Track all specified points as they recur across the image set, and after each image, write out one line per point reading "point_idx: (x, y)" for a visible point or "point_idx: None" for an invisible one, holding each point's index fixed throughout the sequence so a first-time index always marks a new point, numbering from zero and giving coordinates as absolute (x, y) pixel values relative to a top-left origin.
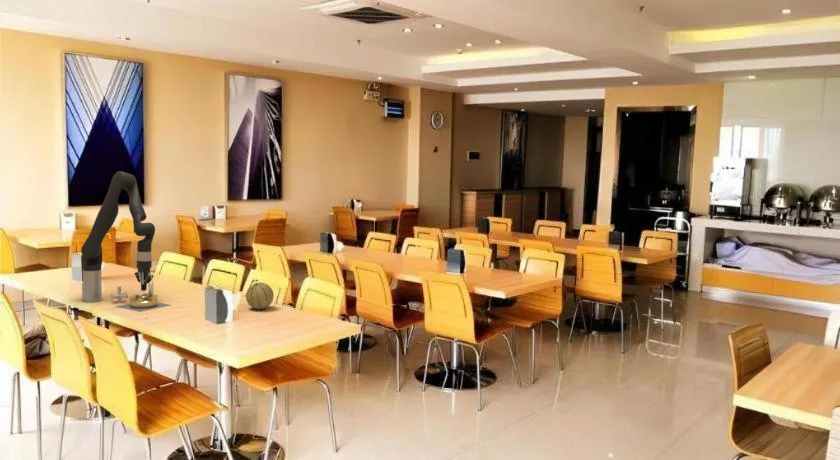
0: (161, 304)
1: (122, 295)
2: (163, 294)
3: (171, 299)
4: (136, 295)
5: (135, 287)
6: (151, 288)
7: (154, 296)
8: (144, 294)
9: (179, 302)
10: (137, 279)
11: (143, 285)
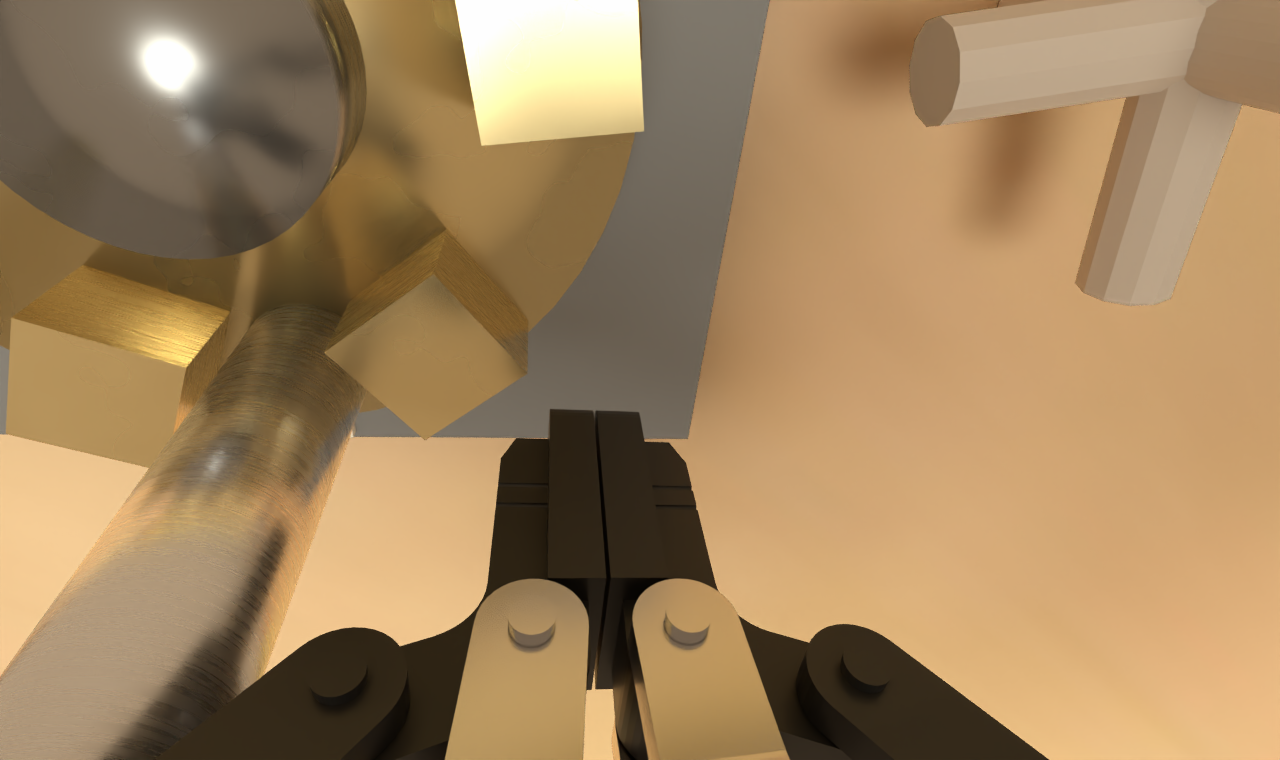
0: None
1: (1092, 13)
2: None
3: None
4: (461, 19)
5: (1262, 738)
6: (102, 540)
7: (27, 348)
8: (397, 297)
9: None
10: (997, 742)
11: (546, 558)
